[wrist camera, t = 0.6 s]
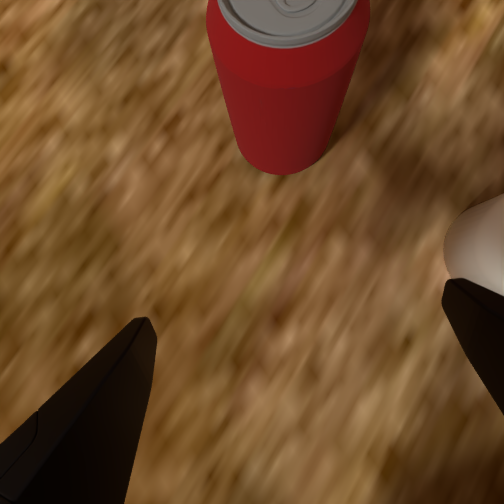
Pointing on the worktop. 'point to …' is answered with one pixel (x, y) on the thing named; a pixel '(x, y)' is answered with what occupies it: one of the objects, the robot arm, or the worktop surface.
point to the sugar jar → (478, 245)
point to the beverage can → (285, 73)
